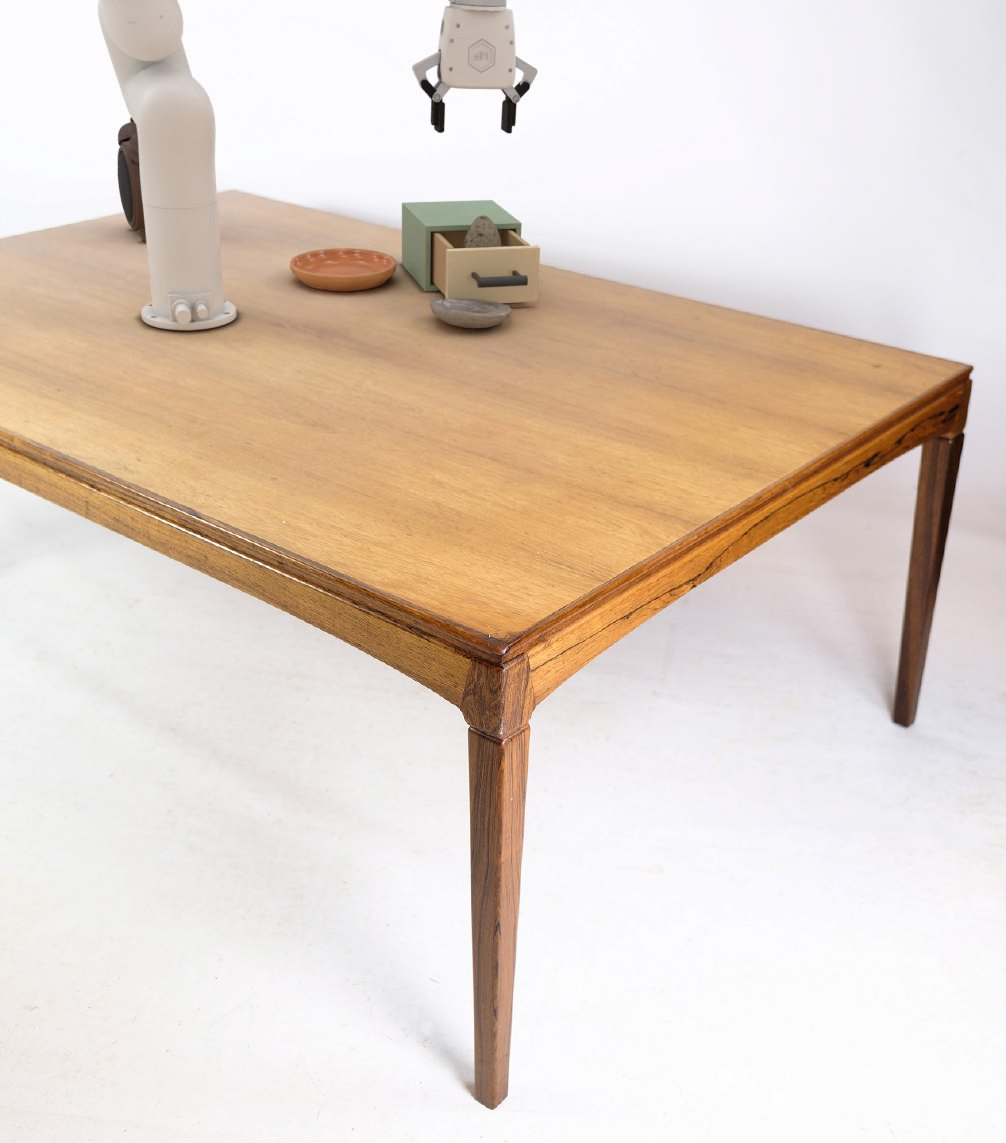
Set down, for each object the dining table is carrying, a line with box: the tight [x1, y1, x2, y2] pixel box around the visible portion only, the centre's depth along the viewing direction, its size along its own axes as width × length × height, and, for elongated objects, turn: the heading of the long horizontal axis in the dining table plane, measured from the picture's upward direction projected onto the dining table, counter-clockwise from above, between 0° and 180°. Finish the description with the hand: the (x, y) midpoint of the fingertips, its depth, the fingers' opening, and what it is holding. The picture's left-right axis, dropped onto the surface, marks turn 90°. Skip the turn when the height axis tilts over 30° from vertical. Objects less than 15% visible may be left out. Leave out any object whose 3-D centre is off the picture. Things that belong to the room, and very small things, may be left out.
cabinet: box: [401, 199, 522, 292], centre depth 198 cm, size 16×15×10 cm
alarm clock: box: [117, 116, 146, 243], centre depth 210 cm, size 15×7×20 cm, turn 25°
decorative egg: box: [463, 215, 502, 248], centre depth 186 cm, size 6×6×10 cm
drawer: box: [430, 229, 541, 304], centre depth 186 cm, size 19×13×8 cm
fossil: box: [428, 298, 513, 329], centre depth 177 cm, size 10×12×3 cm
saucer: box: [289, 247, 398, 292], centre depth 194 cm, size 16×16×3 cm
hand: (472, 131), depth 179 cm, fingers open, 9 cm apart
